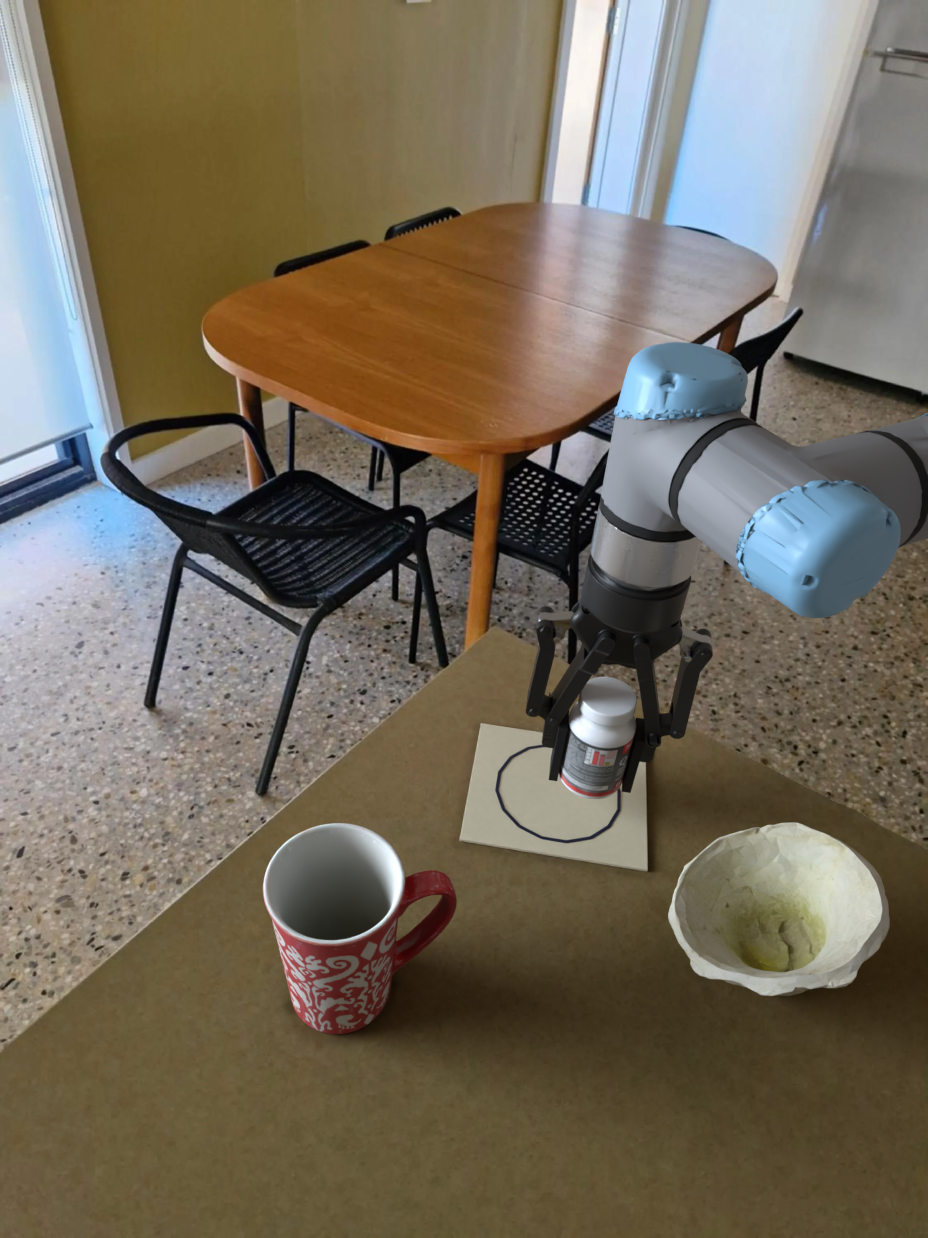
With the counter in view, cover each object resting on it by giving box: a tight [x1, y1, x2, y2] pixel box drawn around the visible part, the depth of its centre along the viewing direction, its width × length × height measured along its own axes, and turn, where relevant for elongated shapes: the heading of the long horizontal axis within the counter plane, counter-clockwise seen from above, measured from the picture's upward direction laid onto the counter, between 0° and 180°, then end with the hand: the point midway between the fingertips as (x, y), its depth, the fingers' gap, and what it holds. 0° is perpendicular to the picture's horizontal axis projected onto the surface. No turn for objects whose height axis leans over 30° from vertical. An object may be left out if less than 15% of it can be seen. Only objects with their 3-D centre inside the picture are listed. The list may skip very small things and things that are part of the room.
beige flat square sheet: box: [459, 722, 649, 873], centre depth 80 cm, size 14×16×1 cm
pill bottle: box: [559, 676, 638, 799], centre depth 76 cm, size 6×6×10 cm
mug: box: [262, 822, 458, 1035], centre depth 61 cm, size 13×9×14 cm
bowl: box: [667, 821, 890, 997], centre depth 66 cm, size 15×14×10 cm
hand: (590, 774), depth 79 cm, fingers closed on pill bottle, 6 cm apart
